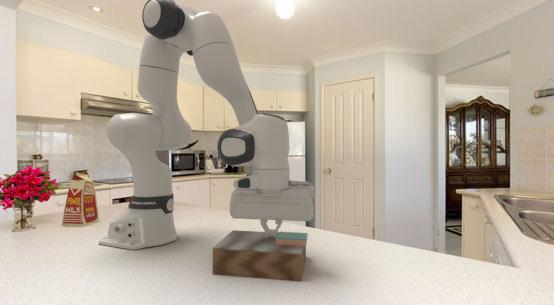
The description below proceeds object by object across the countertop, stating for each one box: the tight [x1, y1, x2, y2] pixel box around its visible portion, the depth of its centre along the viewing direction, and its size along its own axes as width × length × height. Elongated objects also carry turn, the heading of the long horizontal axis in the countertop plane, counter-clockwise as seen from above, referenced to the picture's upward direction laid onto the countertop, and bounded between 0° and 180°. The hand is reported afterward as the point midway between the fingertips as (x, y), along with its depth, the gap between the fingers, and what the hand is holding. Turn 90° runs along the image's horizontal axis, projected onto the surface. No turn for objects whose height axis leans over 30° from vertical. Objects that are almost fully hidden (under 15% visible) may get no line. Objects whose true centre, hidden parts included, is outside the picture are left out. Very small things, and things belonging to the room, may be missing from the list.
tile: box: [276, 231, 309, 247], centre depth 67 cm, size 7×5×2 cm
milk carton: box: [61, 171, 100, 227], centre depth 109 cm, size 9×9×20 cm
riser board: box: [212, 229, 307, 282], centre depth 69 cm, size 20×14×6 cm
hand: (271, 237), depth 68 cm, fingers closed
